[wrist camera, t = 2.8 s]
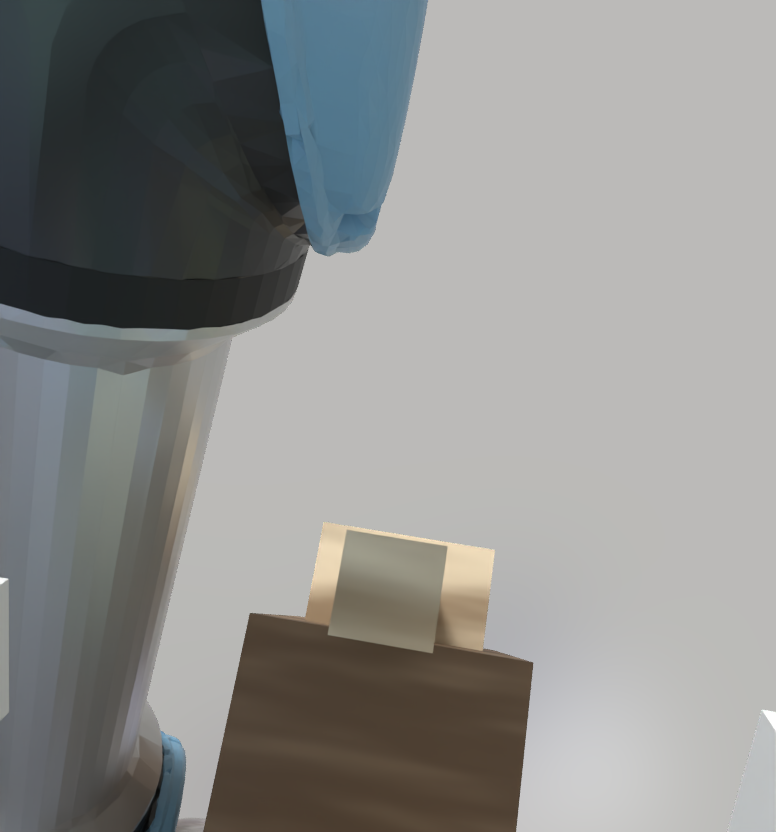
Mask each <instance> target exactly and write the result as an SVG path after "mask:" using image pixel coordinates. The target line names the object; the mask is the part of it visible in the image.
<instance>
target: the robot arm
mask: <svg viewBox="0 0 776 832" xmlns="http://www.w3.org/2000/svg"><path fill="white" fill-rule="evenodd" d="M427 2H428V0H0V832H175V831H176V826H177V822H178V817H179V812H180V807H181V801H182V795H183V787H184V781H185V771H186V757H185V750H184V748H183V747H182V745H181V743H180V741H179V740H178V739H177V738H175V737H173V736H170V735H166V734H165V733H163V732H162V731H160V728H159V724H158V721H157V718H156V716H155V714H154V712H153V710H152V708H151V707H150V705H149V704H148V702H147V700H146V699H147V695H148V691H149V686H150V682H151V677H152V673H153V669H154V665H155V661H156V657H157V652H158V648H159V644H160V640H161V635H162V631H163V627H164V623H165V618H166V614H167V610H168V606H169V601H170V597H171V593H172V589H173V585H174V580H175V576H176V572H177V568H178V564H179V559H180V555H181V551H182V547H183V543H184V538H185V534H186V530H187V526H188V521H189V517H190V513H191V509H192V505H193V501H194V496H195V492H196V488H197V484H198V480H199V475H200V471H201V467H202V463H203V459H204V454H205V450H206V446H207V441H208V438H209V433H210V429H211V425H212V421H213V417H214V412H215V408H216V404H217V399H218V396H219V391H220V387H221V383H222V379H223V374H224V370H225V366H226V362H227V358H228V353H229V349H230V345H231V341H232V337H235V336H237V335H240V334H242V333H244V332H247V331H249V330H251V329H254V328H256V327H259V326H261V325H262V324H265V323H267V322H269V321H271V320H273V319H274V318H276V317H277V316H278V315H280V314H281V313H282V312H283V311H285V310H286V308H287V307H288V306H289V305H290V304H291V302H292V300H293V298H294V295H295V292H296V290H297V287H298V284H299V280H300V277H301V273H302V270H303V266H304V262H305V259H306V255H307V251H308V248H309V246H310V244H311V246H312V247H313V249H314V251H315V252H317V253H319V254H322V255H325V256H331V255H333V254H335V253H336V252H343V253H351V252H356V251H359V250H361V249H362V248H363V247H364V246H366V245H367V244H368V243H369V241H370V239H371V237H372V236H373V234H374V232H375V228H376V223H377V219H378V215H379V212H380V208H381V205H382V203H383V202H384V199H385V196H386V193H387V190H388V187H389V184H390V182H391V179H392V175H393V171H394V167H395V163H396V159H397V155H398V150H399V145H400V142H401V137H402V133H403V129H404V124H405V120H406V115H407V110H408V105H409V100H410V95H411V90H412V85H413V80H414V76H415V70H416V64H417V58H418V53H419V48H420V43H421V37H422V32H423V26H424V21H425V15H426V9H427ZM727 832H776V712H772V711H766V710H762V711H761V714H760V718H759V721H758V724H757V728H756V731H755V735H754V739H753V742H752V746H751V749H750V753H749V756H748V759H747V763H746V767H745V770H744V773H743V777H742V780H741V784H740V787H739V791H738V794H737V797H736V801H735V805H734V808H733V811H732V815H731V818H730V822H729V825H728V829H727Z"/></svg>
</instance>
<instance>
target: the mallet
mask: <svg viewBox="0 0 776 832" xmlns="http://www.w3.org/2000/svg"><path fill="white" fill-rule="evenodd" d="M494 553H495V550H492V549H485V548H479V547H473V546H467V545H461V544H455V543H449V542H443V541H437V540H431V539H424V538H418V537H412V536H406V535H400V534H394V533H387V532H381V531H375V530H370V529H363V528H357V527H351V526H345V525H339V524H333V523H327V522H324V523H323V528H322V533H321V539H320V544H319V549H318V554H317V559H316V565H315V570H314V575H313V580H312V586H311V591H310V596H309V601H308V606H307V612H306V617H305V620H308V621H314V622H319V623H325V624H329V630H328V635H331V636H337V637H343V638H348V639H354V640H360V641H365V642H371V643H377V644H382V645H388V646H394V647H400V648H405V649H411V650H417V651H422V652H428V653H433V648H434V643H439V644H445V645H451V646H457V647H462V648H468V649H474V650H479V651H483V643H484V635H485V627H486V619H487V611H488V603H489V595H490V586H491V577H492V570H493V562H494Z"/></svg>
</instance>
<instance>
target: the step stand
mask: <svg viewBox="0 0 776 832" xmlns="http://www.w3.org/2000/svg"><path fill="white" fill-rule="evenodd" d="M328 630H329V624H325V623H319V622H314V621H308V620H305V617H299V616H285V615H271V614H270V615H269V614H256V613H250V615H249V620H248V625H247V630H246V634H245V639H244V644H243V648H242V653H241V657H240V662H239V667H238V672H237V676H236V681H235V686H234V690H233V695H232V700H231V704H230V709H229V714H228V719H227V723H226V728H225V733H224V737H223V742H222V747H221V751H220V756H219V761H218V765H217V770H216V775H215V779H214V784H213V789H212V793H211V798H210V803H209V808H208V812H207V817H206V822H205V826H204V831H203V832H516V826H517V817H518V807H519V797H520V786H521V778H522V768H523V758H524V747H525V738H526V729H527V719H528V708H529V700H530V690H531V679H532V670H533V662H529V661H526V660H523V659H520V658H516V657H513V656H510V655H507V654H504V653H500V652H497V651H493V650H488V649H483V651H479V650H474V649H468V648H462V647H457V646H451V645H445V644H439V643H434V648H433V653H428V652H422V651H417V650H411V649H405V648H400V647H394V646H388V645H382V644H377V643H371V642H365V641H360V640H354V639H348V638H343V637H337V636H331V635H328Z"/></svg>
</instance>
